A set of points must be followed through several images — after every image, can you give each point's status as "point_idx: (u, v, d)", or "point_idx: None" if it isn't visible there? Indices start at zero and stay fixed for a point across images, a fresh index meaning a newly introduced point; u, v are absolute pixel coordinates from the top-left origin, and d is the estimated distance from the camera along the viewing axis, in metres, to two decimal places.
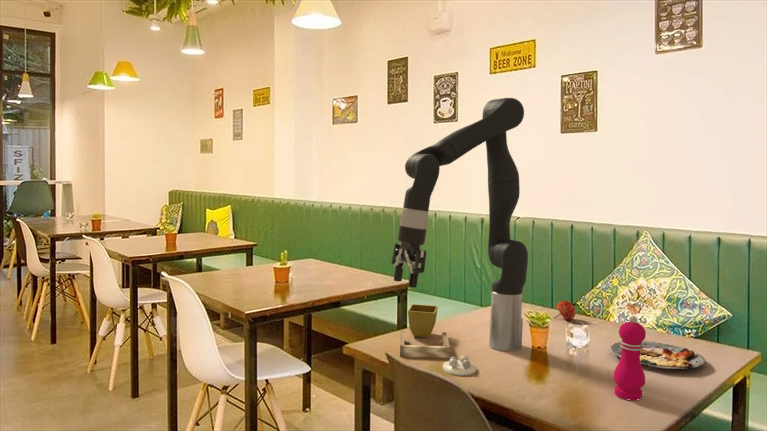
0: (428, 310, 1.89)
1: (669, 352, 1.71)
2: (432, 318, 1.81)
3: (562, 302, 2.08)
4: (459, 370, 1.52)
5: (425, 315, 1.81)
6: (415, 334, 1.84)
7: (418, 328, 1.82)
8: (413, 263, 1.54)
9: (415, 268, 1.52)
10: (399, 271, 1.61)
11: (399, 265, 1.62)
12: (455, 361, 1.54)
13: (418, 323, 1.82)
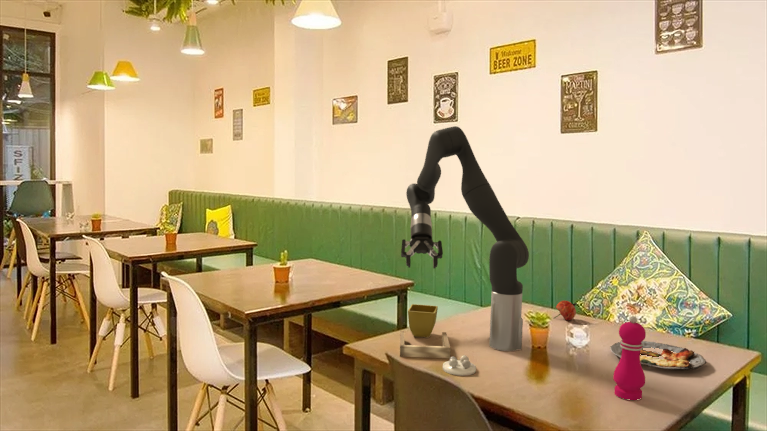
0: (428, 310, 1.89)
1: (669, 352, 1.71)
2: (432, 318, 1.81)
3: (562, 302, 2.08)
4: (459, 370, 1.52)
5: (425, 315, 1.81)
6: (415, 334, 1.84)
7: (418, 328, 1.82)
8: None
9: None
10: (433, 260, 1.95)
11: (433, 256, 1.96)
12: (455, 361, 1.54)
13: (418, 323, 1.82)
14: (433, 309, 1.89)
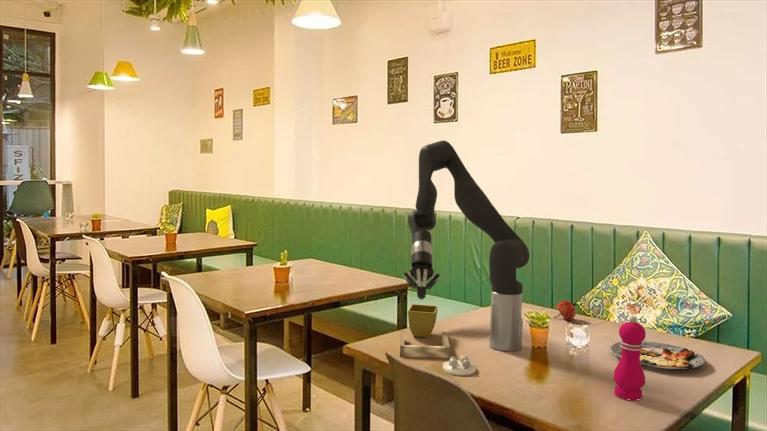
0: (428, 310, 1.89)
1: (669, 352, 1.71)
2: (432, 318, 1.81)
3: (562, 302, 2.08)
4: (459, 370, 1.52)
5: (425, 315, 1.81)
6: (415, 334, 1.84)
7: (418, 328, 1.82)
8: None
9: None
10: None
11: (422, 287, 1.97)
12: (455, 361, 1.54)
13: (418, 323, 1.82)
14: (433, 309, 1.89)
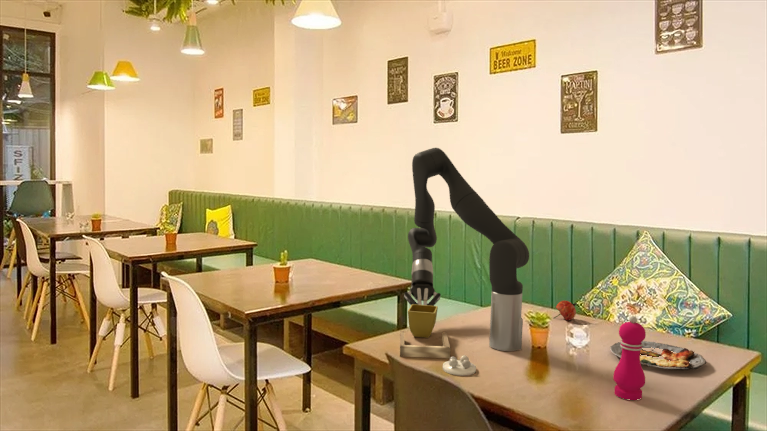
0: (428, 310, 1.89)
1: (669, 352, 1.71)
2: (432, 318, 1.80)
3: (562, 302, 2.08)
4: (459, 370, 1.52)
5: (425, 315, 1.81)
6: (415, 334, 1.83)
7: (418, 328, 1.82)
8: (417, 302, 1.95)
9: None
10: None
11: None
12: (455, 361, 1.54)
13: (418, 323, 1.82)
14: (433, 309, 1.88)
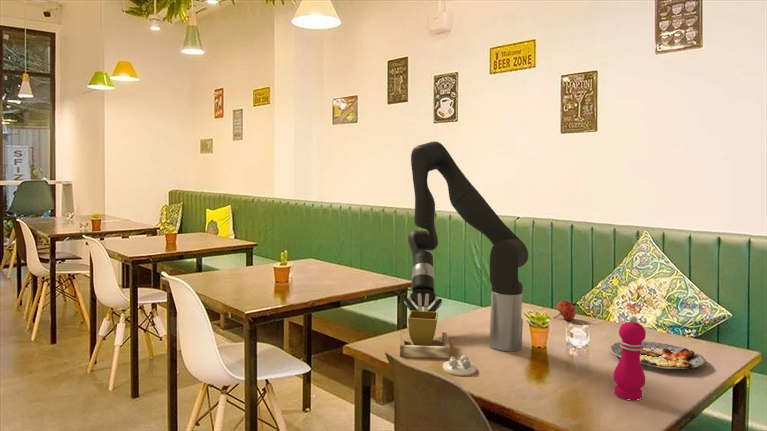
0: (428, 316, 1.81)
1: (669, 352, 1.71)
2: (433, 325, 1.73)
3: (562, 302, 2.08)
4: (459, 370, 1.52)
5: (426, 322, 1.73)
6: (415, 342, 1.75)
7: (419, 336, 1.74)
8: None
9: None
10: None
11: None
12: (455, 361, 1.54)
13: (419, 330, 1.74)
14: (433, 315, 1.81)
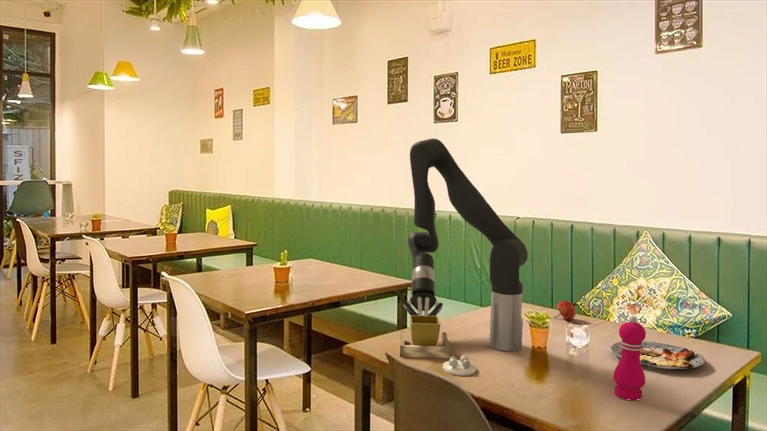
0: (428, 321, 1.76)
1: (669, 352, 1.71)
2: (437, 330, 1.68)
3: (562, 302, 2.08)
4: (459, 370, 1.52)
5: (430, 327, 1.68)
6: None
7: (422, 341, 1.69)
8: None
9: None
10: None
11: None
12: (455, 361, 1.54)
13: (422, 336, 1.68)
14: (433, 319, 1.76)
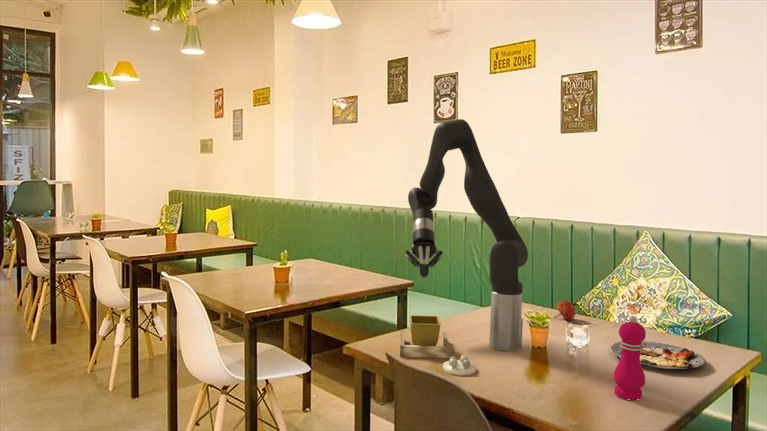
0: (428, 321, 1.76)
1: (669, 352, 1.71)
2: (437, 330, 1.68)
3: (562, 302, 2.08)
4: (459, 370, 1.52)
5: (430, 327, 1.68)
6: None
7: (422, 341, 1.69)
8: (419, 260, 1.90)
9: None
10: None
11: None
12: (455, 361, 1.54)
13: (422, 336, 1.68)
14: (433, 320, 1.76)
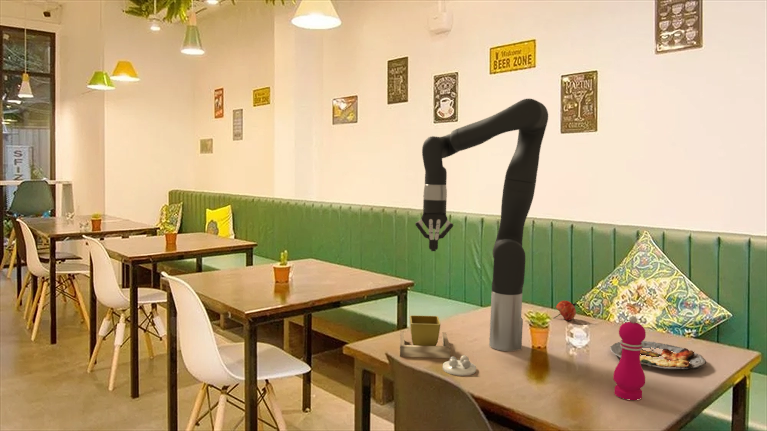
0: (428, 321, 1.76)
1: (669, 352, 1.71)
2: (437, 330, 1.68)
3: (562, 302, 2.08)
4: (459, 370, 1.52)
5: (430, 327, 1.68)
6: None
7: (422, 341, 1.69)
8: None
9: None
10: None
11: (434, 237, 1.88)
12: (455, 361, 1.54)
13: (422, 336, 1.68)
14: (433, 320, 1.76)
